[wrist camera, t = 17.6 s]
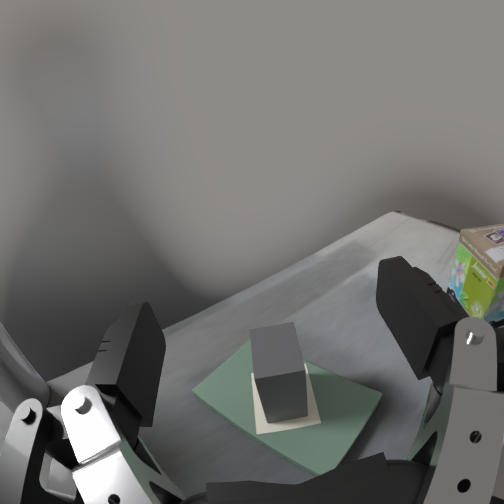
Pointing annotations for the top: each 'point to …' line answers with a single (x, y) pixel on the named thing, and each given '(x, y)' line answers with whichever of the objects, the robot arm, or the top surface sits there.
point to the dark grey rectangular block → (279, 372)
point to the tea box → (480, 274)
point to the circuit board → (295, 430)
